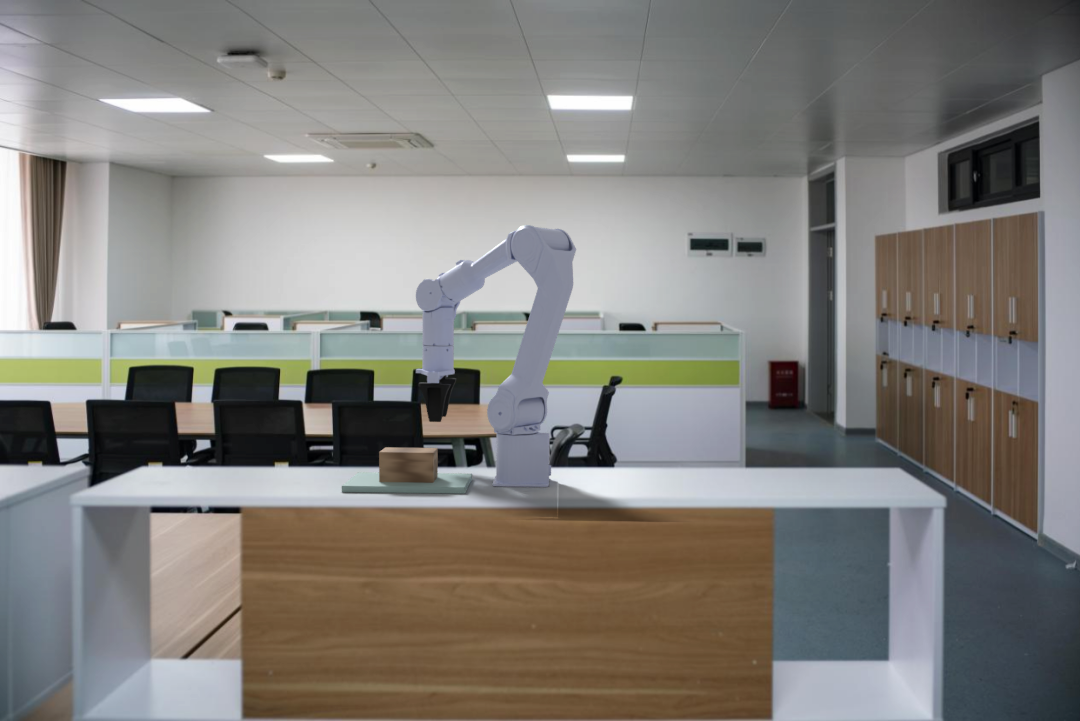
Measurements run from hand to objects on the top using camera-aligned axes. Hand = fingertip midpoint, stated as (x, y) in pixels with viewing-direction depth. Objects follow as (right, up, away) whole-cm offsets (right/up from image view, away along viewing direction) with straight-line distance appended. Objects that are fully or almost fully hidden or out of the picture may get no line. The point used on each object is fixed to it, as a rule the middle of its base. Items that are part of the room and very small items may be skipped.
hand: (437, 419), depth 164 cm
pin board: (-3, -10, -14) cm, 18 cm away
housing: (-3, -9, -14) cm, 17 cm away
